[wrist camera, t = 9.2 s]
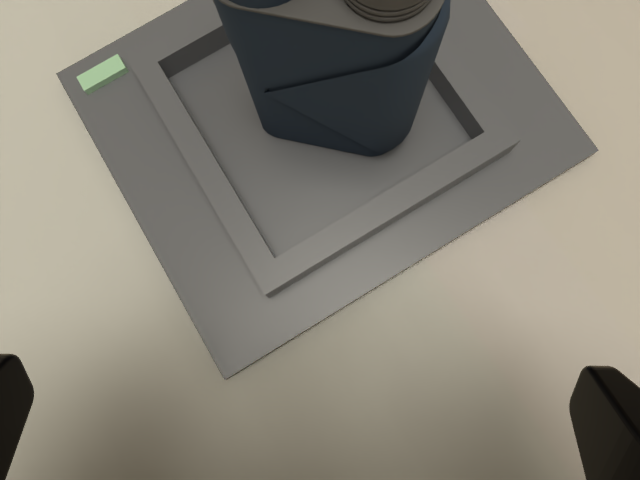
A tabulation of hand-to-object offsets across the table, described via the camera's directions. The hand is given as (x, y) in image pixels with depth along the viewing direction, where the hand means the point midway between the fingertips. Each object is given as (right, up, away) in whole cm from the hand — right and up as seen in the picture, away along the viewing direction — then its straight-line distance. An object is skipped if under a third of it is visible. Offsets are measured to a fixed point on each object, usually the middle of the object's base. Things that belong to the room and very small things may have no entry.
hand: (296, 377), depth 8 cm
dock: (0, +6, +10) cm, 12 cm away
